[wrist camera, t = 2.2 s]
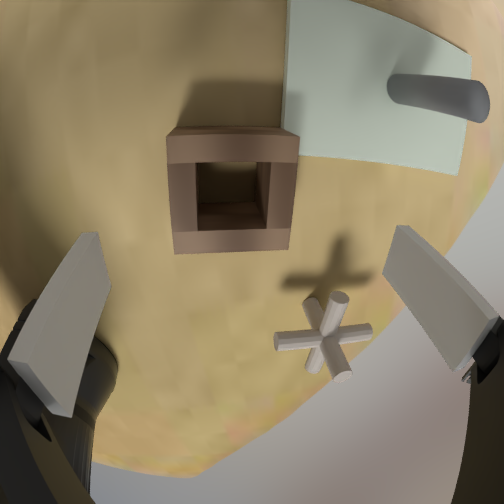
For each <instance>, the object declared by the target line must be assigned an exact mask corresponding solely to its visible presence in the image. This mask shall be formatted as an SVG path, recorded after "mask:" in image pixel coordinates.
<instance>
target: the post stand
mask: <svg viewBox="0 0 504 504" xmlns="http://www.w3.org/2000/svg"><path fill="white" fill-rule="evenodd" d="M471 60H472V56H470V55H468V54H467V53H465V52H464V51H462V50H460V49H459V48H457V47H455V46H454V45H452V44H450V43H448V42H447V41H445V40H443V39H441V38H439V37H438V36H436V35H434V34H432V33H430V32H428V31H426V30H424V29H422V28H420V27H418V26H416V25H413V24H411V23H409V22H407V21H404V20H402V19H400V18H397V17H395V16H392V15H390V14H387V13H385V12H382V11H380V10H377V9H374V8H371V7H368V6H365V5H362V4H359V3H356V2H353V1H349V0H287V21H286V42H285V61H284V79H283V96H282V112H281V127H280V128H282V129H285V130H287V131H289V132H291V133H293V134H295V135H297V136H299V137H300V145H299V155H302V156H318V157H331V158H342V159H352V160H362V161H370V162H378V163H386V164H393V165H400V166H406V167H413V168H419V169H424V170H430V171H435V172H441V173H446V174H451V175H455V176H457V175H458V171H459V166H460V161H461V156H462V151H463V145H464V139H465V133H466V126H467V120H470V121H473V122H477V123H482V122H484V121H485V120H486V119H487V117H488V114H489V110H490V100H489V95H488V92H487V90H486V88H485V86H484V85H483V84H482V83H481V82H479V81H476V80H471Z"/></svg>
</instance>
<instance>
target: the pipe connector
mask: <svg viewBox="0 0 504 504" xmlns="http://www.w3.org/2000/svg"><path fill="white" fill-rule="evenodd" d="M348 302H349V297H348V296H347V295H346V294H345V293H343V292H341V291H333V292H331V294H330V295H329V298H328V302H327V305H326V308H325V311H324V312H323V310H322V308H321V306H320V304H319V302H318V300H317V299H316V298H314V297H311V298H308V299H306V300H305V301H304V302H303V304H302V307H303V309H304V312H305V314H306V316H307V319H308V321H309V323H310V326H311V328H312V329H310V330H298V331H284V332H275V333H274V347H275V350H276V351H284V350H295V349H305V348H311V350H310V353H309V356H308V358H307V361H306V363H305V369H306V370H307V371H308V372H310V373H318V372H319V371H320V369H321V367H322V365H323V363H324V361H325V362H326V364H327V367H328V369H329V372H330V374H331V377H332V379H333V381H334V382H335V383H340V382H343V381H346V380H347V379H349V378H350V377H351V376H352V370H351V368H350V366H349V364H348V362H347V360H346V358H345V355H344V353H343V351H342V349H341V347H340V345H339V344H346V343H353V342H359V341H366V340H370V339H371V338H372V334H373V330H372V327H371V325H370V324H369V323H365V324H357V325H349V326H340V327H339V325H340V323H341V321H342V318H343V315H344V313H345V310H346V308H347V305H348Z"/></svg>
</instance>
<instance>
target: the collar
mask: <svg viewBox="0 0 504 504" xmlns="http://www.w3.org/2000/svg"><path fill="white" fill-rule="evenodd" d="M166 145H167V169H168V187H169V201H170V214H171V226H172V236H173V246H174V254H196V253H221V252H246V251H270V250H288V248H289V240H290V232H291V223H292V214H293V205H294V196H295V186H296V177H297V166H298V156H299V145H300V137H299V136H297V135H295V134H293V133H291V132H289V131H287V130H285V129H282V128H279V127H257V126H198V127H176V128H174V129H173V130H172V131H171V132H170V133H169V134H168V135H167V136H166ZM199 162H257V169H256V188H255V202H232V203H199V194H198V163H199Z"/></svg>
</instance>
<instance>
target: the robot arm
mask: <svg viewBox="0 0 504 504" xmlns="http://www.w3.org/2000/svg"><path fill="white" fill-rule="evenodd" d="M382 274H383V276H384V277H385V278H386V279H387V281H388V282H389V283H390V284H391V286H392V287H393V288H394V290H395V291H396V292H397V294H398V295H399V296H400V297H401V299H402V300H403V301H404V303H405V304H406V305H407V307H408V308H409V309H410V311H411V312H412V314H413V315H414V316H415V318H416V319H417V321H418V322H419V323H420V325H421V326H422V327H423V329H424V330H425V332H426V333H427V335H428V336H429V338H430V339H431V340H432V342H433V343H434V345H435V346H436V348H437V349H438V351H439V352H440V354H441V355H442V357H443V358H444V360H445V362H446V363H447V365H448V366H449V368H450V369H451V371H452V372H455V371H458V370H460V369H462V368H464V367H465V366H466V364H467V363H468V362H469V361H470V359H471V358H472V357H473V358H474V360H475V362H474V363H473V365H472V366H471V367H470V369H469V370H468V371H467V372H466V373H465V375H464V376H463V377H462V381H464V380H465V379H466V378H467V377H468V376H469V375H471V377H470V378H469V379H468V380H467V383H470V384H471V388H470V389H471V390H470V405H469V416H468V425H467V433H466V440H465V446H464V452H463V457H462V463H461V467H460V472H459V476H458V480H457V484H456V488H455V492H454V495H453V499H452V502H451V504H504V320H503V319H502V318H501V317H500V315H499V314H498V313H497V312H496V311H495V310H494V308H493V307H492V306H491V305H490V304H489V303H488V302H487V301H486V300H485V298H484V297H483V296H482V295H481V294H480V293H479V292H478V291H477V290H476V289H475V288H474V287H473V286H472V285H471V284H470V283H469V281H467V279H466V278H464V276H463V275H462V274H461V273H460V272H459V271H458V270H457V269H455V267H453V265H451V264H450V263H449V262H448V261H447V260H446V259H445V258H444V257H443V256H442V255H441V254H440V253H439V252H438V251H437V250H436V249H435V248H433V247H432V246H431V245H430V244H429V243H428V242H427V241H426V240H425V239H423V238H422V237H421V236H420V235H419V234H418V233H417V232H415V231H414V230H413V229H412V228H411V227H410V226H403V225H397V226H396V230H395V233H394V237H393V240H392V244H391V247H390V250H389V254H388V257H387V260H386V263H385V266H384V269H383V272H382ZM110 289H111V283H110V279H109V276H108V272H107V268H106V264H105V261H104V257H103V252H102V248H101V244H100V240H99V235H98V232H88V233H82V234H81V235H80V236H79V238H78V239H77V240H76V242H75V243H74V245H73V246H72V247H71V249H70V250H69V252H68V253H67V255H66V256H65V257H64V259H63V260H62V262H61V263H60V265H59V266H58V268H57V269H56V271H55V273H54V274H53V276H52V277H51V279H50V280H49V282H48V284H47V285H46V287H45V288H44V290H43V292H42V293H41V295H40V297H39V299H33V300H32V301H31V302H30V303H29V304H28V305H27V306H26V307H25V308H24V309H23V311H22V313H21V314H20V316H19V318H18V322H16V323H15V325H14V327H13V331H11V333H10V335H9V337H8V339H7V341H6V343H5V345H4V347H3V349H2V351H1V353H0V504H95V502H94V501H93V500H92V498H91V497H90V474H91V459H92V447H93V438H94V429H95V423H96V419H97V417H98V415H99V413H100V412H101V410H102V408H103V407H104V405H105V403H106V402H107V400H108V398H109V396H110V395H111V393H112V392H113V390H114V387H115V384H116V378H117V373H118V368H117V364H116V361H115V359H114V357H113V356H112V354H111V353H110V351H109V350H108V349H107V348H106V347H105V346H104V345H103V344H102V343H101V342H100V341H99V340H98V339H97V338H95V337H94V334H95V331H96V328H97V325H98V322H99V319H100V316H101V313H102V310H103V307H104V305H105V302H106V299H107V297H108V294H109V291H110Z"/></svg>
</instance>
